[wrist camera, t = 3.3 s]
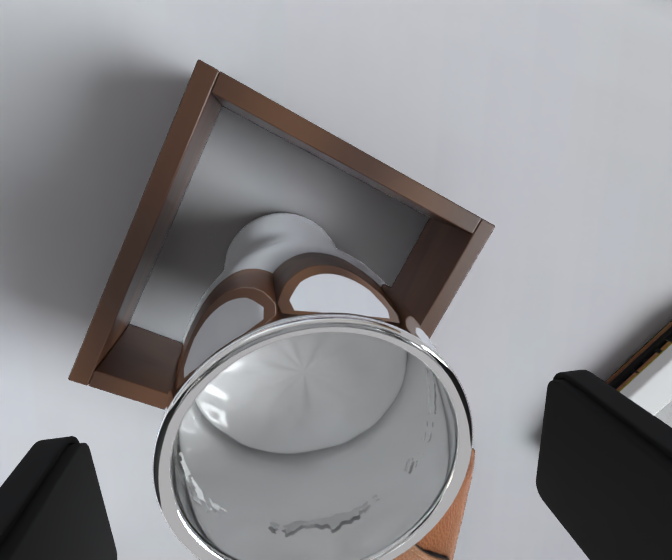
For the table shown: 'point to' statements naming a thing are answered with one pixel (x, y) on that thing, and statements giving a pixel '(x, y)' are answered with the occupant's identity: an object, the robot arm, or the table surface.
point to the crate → (163, 202)
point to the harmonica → (648, 374)
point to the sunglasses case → (443, 528)
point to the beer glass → (306, 410)
